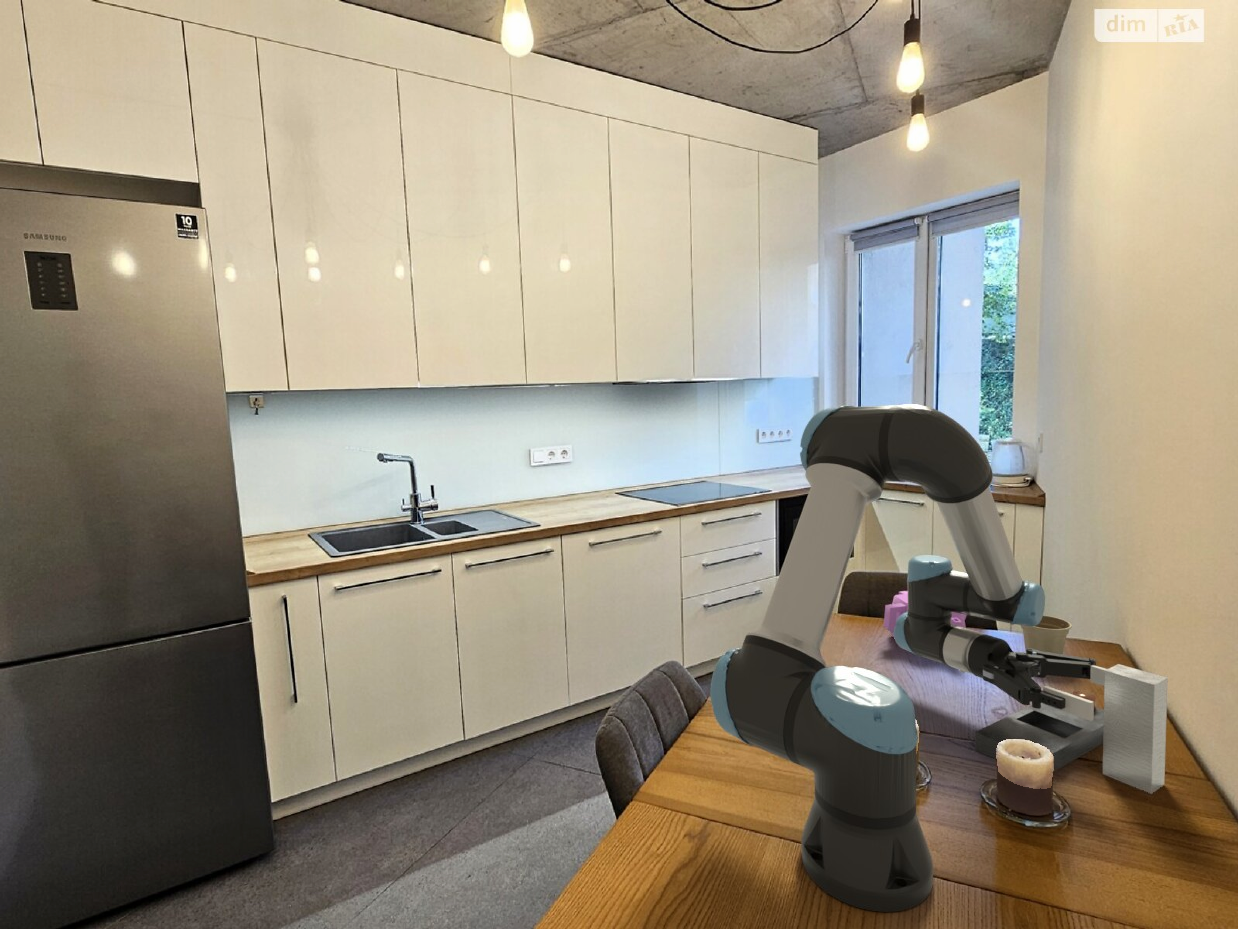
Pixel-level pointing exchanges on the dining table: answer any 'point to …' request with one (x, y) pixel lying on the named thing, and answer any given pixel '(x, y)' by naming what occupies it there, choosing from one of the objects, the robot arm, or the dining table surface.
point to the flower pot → (1047, 635)
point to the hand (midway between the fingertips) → (1116, 699)
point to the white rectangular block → (1135, 727)
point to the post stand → (1047, 731)
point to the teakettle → (901, 607)
